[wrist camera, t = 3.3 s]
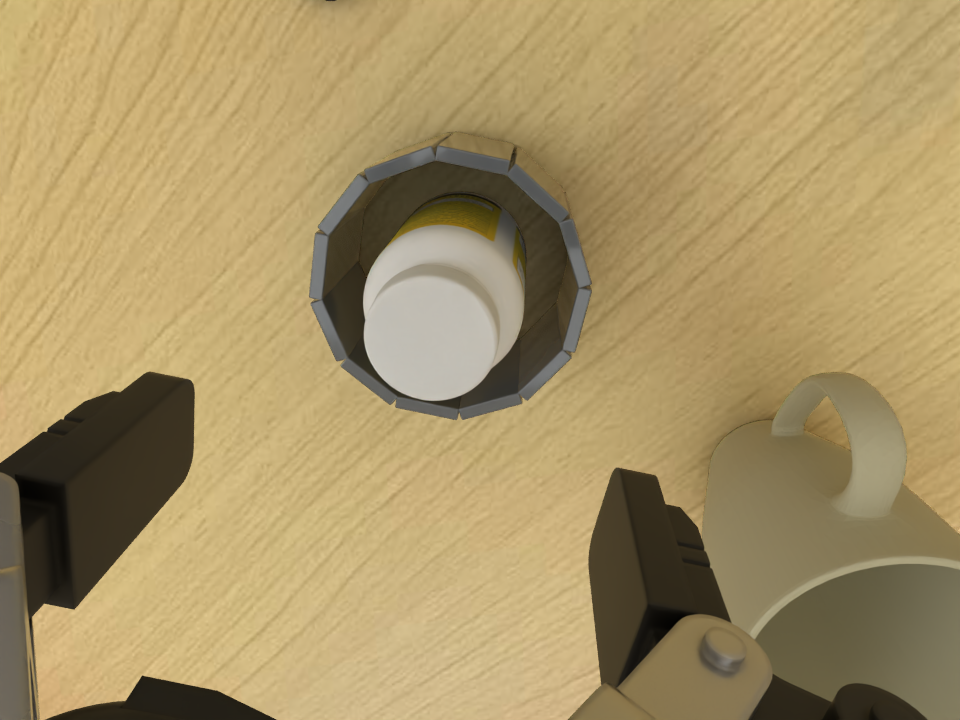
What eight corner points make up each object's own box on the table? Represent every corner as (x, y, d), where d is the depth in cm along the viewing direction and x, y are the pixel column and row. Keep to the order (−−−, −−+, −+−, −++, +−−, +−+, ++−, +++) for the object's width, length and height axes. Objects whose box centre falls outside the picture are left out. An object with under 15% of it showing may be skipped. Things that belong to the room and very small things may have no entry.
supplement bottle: (373, 245, 29) (300, 324, 20) (470, 162, 27) (440, 207, 18) (455, 338, 30) (422, 452, 21) (552, 265, 28) (561, 354, 19)
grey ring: (338, 336, 30) (299, 388, 25) (364, 112, 27) (325, 121, 22) (548, 379, 31) (551, 440, 26) (604, 162, 27) (621, 183, 22)
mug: (923, 456, 31) (1140, 670, 20) (744, 573, 34) (845, 813, 23) (773, 292, 28) (927, 433, 17) (596, 436, 32) (631, 631, 20)
